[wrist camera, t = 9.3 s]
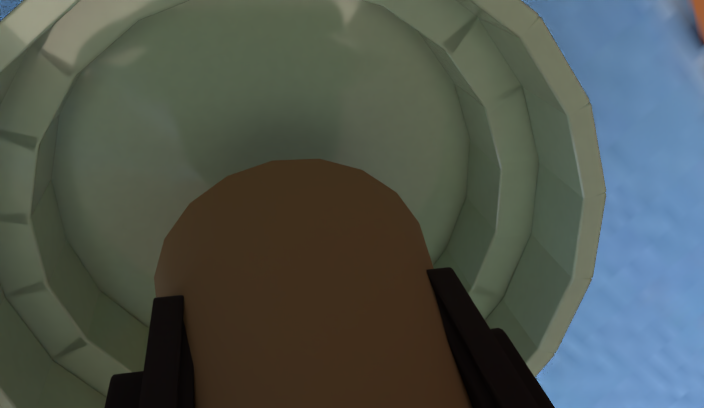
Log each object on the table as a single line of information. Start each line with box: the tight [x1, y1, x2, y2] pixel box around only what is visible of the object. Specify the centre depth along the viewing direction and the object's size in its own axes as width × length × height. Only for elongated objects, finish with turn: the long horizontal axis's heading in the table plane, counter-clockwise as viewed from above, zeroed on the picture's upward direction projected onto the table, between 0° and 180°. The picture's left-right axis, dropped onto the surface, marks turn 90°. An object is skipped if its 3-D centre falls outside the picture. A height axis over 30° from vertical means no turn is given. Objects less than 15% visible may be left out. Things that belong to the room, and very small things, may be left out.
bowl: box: [0, 0, 606, 408], centre depth 17 cm, size 15×15×6 cm
